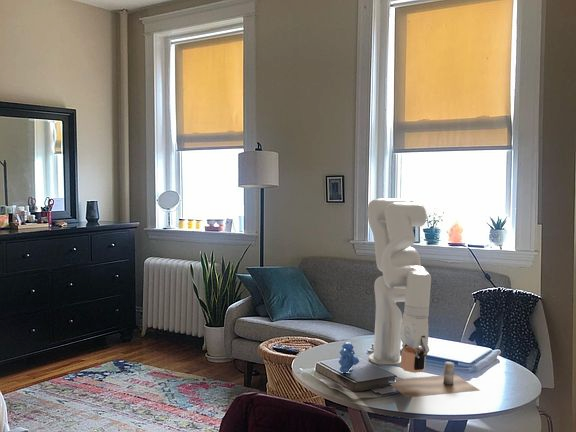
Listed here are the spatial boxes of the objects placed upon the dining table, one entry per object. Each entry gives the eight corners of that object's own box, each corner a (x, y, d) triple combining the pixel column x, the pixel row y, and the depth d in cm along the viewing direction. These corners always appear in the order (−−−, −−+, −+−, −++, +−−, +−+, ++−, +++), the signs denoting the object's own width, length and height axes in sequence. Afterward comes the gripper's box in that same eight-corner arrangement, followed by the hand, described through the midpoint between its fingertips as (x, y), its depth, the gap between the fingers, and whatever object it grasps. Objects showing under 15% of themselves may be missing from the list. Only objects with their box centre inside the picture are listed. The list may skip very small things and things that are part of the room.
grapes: (354, 384, 190) (355, 348, 189) (334, 381, 192) (335, 345, 191) (362, 372, 201) (364, 338, 200) (343, 369, 203) (345, 336, 202)
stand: (385, 384, 191) (386, 360, 190) (454, 378, 198) (456, 354, 198) (406, 402, 177) (407, 375, 177) (479, 394, 185) (481, 369, 184)
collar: (397, 364, 188) (398, 346, 187) (416, 363, 190) (418, 345, 190) (408, 373, 182) (409, 354, 181) (427, 371, 184) (429, 353, 183)
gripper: (392, 303, 191) (389, 355, 193) (419, 319, 174) (415, 376, 176) (413, 302, 193) (409, 353, 195) (442, 318, 176) (437, 374, 179)
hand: (412, 364), depth 186 cm, fingers closed on collar, 7 cm apart
